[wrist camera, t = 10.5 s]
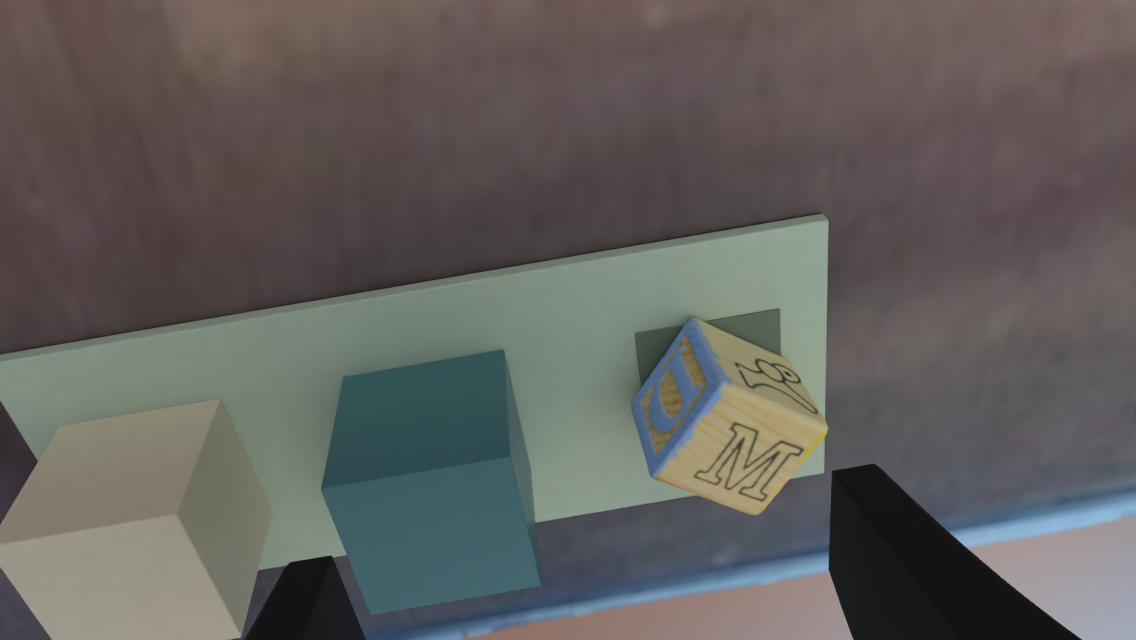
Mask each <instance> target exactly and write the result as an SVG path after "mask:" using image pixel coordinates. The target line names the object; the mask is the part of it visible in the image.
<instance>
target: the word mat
mask: <svg viewBox="0 0 1136 640" xmlns="http://www.w3.org/2000/svg"><path fill="white" fill-rule="evenodd" d="M827 274H828V219H827V218H826V217H825V215H824V214H817V215H811V216H805V217H800V218H794V219H788V220H782V221H776V222H770V223H765V224H759V225H753V226H747V227H741V228H735V229H730V230H724V231H718V232H712V233H706V234H700V235H695V236H689V237H683V238H677V239H671V240H665V241H660V242H654V243H648V244H642V245H636V246H630V247H625V248H619V249H613V250H607V251H601V252H595V253H590V254H584V255H578V256H572V257H566V258H560V259H555V260H549V261H543V262H537V263H531V264H525V265H520V266H514V267H508V268H502V269H496V270H490V271H485V272H479V273H473V274H467V275H461V276H455V277H450V278H444V279H438V280H432V281H426V282H420V283H415V284H409V285H403V286H397V287H391V288H385V289H380V290H374V291H368V292H362V293H356V294H350V295H345V296H339V297H333V298H327V299H321V300H315V301H310V302H304V303H298V304H292V305H286V306H280V307H275V308H269V309H263V310H257V311H251V312H245V313H240V314H234V315H228V316H222V317H216V318H210V319H205V320H199V321H193V322H187V323H181V324H175V325H170V326H164V327H158V328H152V329H146V330H140V331H135V332H129V333H123V334H117V335H111V336H105V337H100V338H94V339H88V340H82V341H76V342H70V343H65V344H59V345H53V346H47V347H41V348H35V349H30V350H24V351H18V352H12V353H6V354H0V401H1V403H2V404H3V406H4V407H5V409H6V411H7V412H8V414H9V415H10V417H11V419H12V420H13V422H14V423H15V425H16V427H17V428H18V430H19V432H20V433H21V435H22V436H23V438H24V440H25V441H26V443H27V444H28V446H29V448H30V449H31V451H32V452H33V454H34V456H35V457H36V459H37V461H39V459H40V458H41V456H42V455H43V453H44V451H45V450H46V448H47V446H48V445H49V443H50V441H51V440H52V438H53V436H54V435H55V433H56V431H57V430H58V428H59V427H60V426H62V425H68V424H74V423H80V422H85V421H91V420H97V419H103V418H109V417H115V416H120V415H126V414H132V413H138V412H144V411H150V410H155V409H161V408H167V407H173V406H179V405H185V404H190V403H196V402H202V401H208V400H214V399H221V401H222V403H223V405H224V408H225V410H226V412H227V414H228V416H229V419H230V421H231V423H232V425H233V428H234V430H235V432H236V434H237V436H238V439H239V441H240V443H241V445H242V448H243V450H244V452H245V454H246V456H247V459H248V461H249V463H250V465H251V468H252V470H253V472H254V474H255V476H256V479H257V481H258V483H259V485H260V488H261V490H262V492H263V494H264V496H265V499H266V501H267V503H268V505H269V508H270V510H271V512H272V518H271V522H270V526H269V530H268V534H267V538H266V541H265V545H264V549H263V553H262V557H261V561H260V565H259V569H258V570H263V569H269V568H274V567H280V566H286V565H288V563H289V562H294V561H300V560H306V559H312V558H318V557H324V556H330V555H332V557H339V556H344V555H346V552H345V550H344V547H343V545H342V542H341V540H340V537H339V535H338V532H337V530H336V527H335V525H334V522H333V520H332V517H331V515H330V512H329V510H328V507H327V505H326V502H325V500H324V497H323V495H322V492H321V486H322V481H323V476H324V471H325V466H326V461H327V455H328V450H329V445H330V440H331V435H332V430H333V425H334V420H335V415H336V410H337V405H338V400H339V395H340V390H341V385H342V380H343V377H346V376H351V375H357V374H363V373H369V372H375V371H380V370H386V369H392V368H398V367H404V366H410V365H415V364H421V363H427V362H433V361H439V360H445V359H450V358H456V357H462V356H468V355H474V354H480V353H485V352H491V351H497V350H504V351H505V355H506V359H507V364H508V368H509V373H510V377H511V382H512V386H513V391H514V395H515V400H516V404H517V409H518V413H519V418H520V422H521V427H522V431H523V436H524V440H525V445H526V449H527V454H528V458H529V463H530V467H531V476H532V487H533V499H534V511H535V522H536V523H537V522H542V521H548V520H554V519H560V518H566V517H571V516H577V515H583V514H589V513H595V512H601V511H606V510H612V509H618V508H624V507H630V506H636V505H641V504H647V503H653V502H659V501H665V500H670V499H676V498H682V497H688V496H694V495H696V494H693V493H691V492H688V491H686V490H683V489H680V488H678V487H675V486H672V485H669V484H667V483H664V482H661V481H658V480H655V479H653V478H651V477H650V474H649V471H648V467H647V462H646V459H645V456H644V452H643V448H642V444H641V441H640V438H639V434H638V431H637V428H636V424H635V421H634V417H633V414H632V410H631V403H632V400H633V399H634V397H635V396H636V395H637V393H638V391H639V390H640V389H641V387H642V386H643V384H644V383H645V382H646V380H647V379H648V378H649V376H650V374H651V373H652V371H653V370H654V369H655V367H656V366H657V364H658V363H659V361H660V360H661V359H662V357H663V356H664V355H665V354H666V352H667V350H668V349H669V347H670V346H671V344H672V343H673V341H674V340H675V338H676V337H677V335H678V334H679V333H680V331H681V330H682V328H683V326H684V325H685V324H686V323H687V322H688V320H690V319H691V318H697V319H699V320H701V321H703V322H705V323H707V324H709V325H712V326H714V327H716V328H718V329H720V330H723V331H725V332H727V333H729V334H732V335H734V336H736V337H738V338H740V339H743V340H745V341H747V342H749V343H752V344H754V345H756V346H759V347H761V348H763V349H765V350H767V351H770V352H772V353H774V354H776V355H779V356H781V357H783V358H785V359H788V360H790V361H791V363H792V365H793V367H794V368H795V370H796V372H797V374H798V376H799V377H800V379H801V381H802V383H803V384H804V386H805V388H806V389H807V391H808V393H809V395H810V397H811V398H812V400H813V401H814V403H815V405H816V406H817V408H818V410H819V411H820V413H821V414H822V416H823V418H824V420H825V388H826V331H827ZM824 444H825V437H824V438H823V439H822V441H821V442H820V443H819V444H818V445H817V446H816V447H815V449H814V450H813V451H812V453H811V454H810V455H809V456H808V457H807V458H806V460H805V461H804V462H803V463H802V465H801V466H799V467H798V469H797V470H796V471H795V472H794V474H793V475H792V476H791V477H790V478H789V479H793V478H799V477H804V476H810V475H816V474H822V473H824Z"/></svg>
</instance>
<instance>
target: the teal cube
mask: <svg viewBox="0 0 1136 640" xmlns="http://www.w3.org/2000/svg"><path fill="white" fill-rule="evenodd" d="M321 492H322V495H323V497H324V500H325V502H326V505H327V507H328V510H329V512H330V515H331V517H332V520H333V522H334V525H335V527H336V530H337V532H338V535H339V537H340V540H341V542H342V545H343V547H344V550H345V552H346V555H347V557H348V560H349V562H350V565H351V567H352V570H353V572H354V575H355V577H356V580H357V582H358V585H359V587H360V590H361V592H362V595H363V597H364V600H365V602H366V605H367V607H368V610H369V612H370V614H371V615H373V614H379V613H385V612H391V611H396V610H402V609H408V608H414V607H420V606H426V605H431V604H437V603H443V602H449V601H455V600H460V599H466V598H472V597H478V596H484V595H490V594H495V593H501V592H507V591H513V590H519V589H524V588H530V587H536V586H540V584H541V580H540V569H539V557H538V546H537V534H536V522H535V511H534V499H533V487H532V476H531V467H530V463H529V458H528V454H527V449H526V445H525V440H524V436H523V431H522V427H521V422H520V418H519V413H518V409H517V404H516V400H515V395H514V391H513V386H512V382H511V377H510V373H509V368H508V364H507V359H506V355H505V351H504V350H497V351H491V352H485V353H480V354H474V355H468V356H462V357H456V358H450V359H445V360H439V361H433V362H427V363H421V364H415V365H410V366H404V367H398V368H392V369H386V370H380V371H375V372H369V373H363V374H357V375H351V376H346V377H343V380H342V385H341V390H340V395H339V400H338V405H337V410H336V415H335V420H334V425H333V430H332V435H331V440H330V445H329V450H328V455H327V461H326V466H325V471H324V476H323V481H322V486H321Z"/></svg>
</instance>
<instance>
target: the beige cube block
mask: <svg viewBox="0 0 1136 640" xmlns="http://www.w3.org/2000/svg"><path fill="white" fill-rule="evenodd" d="M271 518H272V512H271V510H270V508H269V505H268V503H267V501H266V499H265V496H264V494H263V492H262V490H261V488H260V485H259V483H258V481H257V479H256V476H255V474H254V472H253V470H252V468H251V465H250V463H249V461H248V459H247V456H246V454H245V452H244V450H243V448H242V445H241V443H240V441H239V439H238V436H237V434H236V432H235V430H234V428H233V425H232V423H231V421H230V419H229V416H228V414H227V412H226V410H225V408H224V405H223V403H222V401H221V399H214V400H208V401H202V402H196V403H190V404H185V405H179V406H173V407H167V408H161V409H155V410H150V411H144V412H138V413H132V414H126V415H120V416H115V417H109V418H103V419H97V420H91V421H85V422H80V423H74V424H68V425H62V426H60V427H59V428H58V430H57V431H56V433H55V435H54V436H53V438H52V440H51V441H50V443H49V445H48V446H47V448H46V450H45V451H44V453H43V455H42V456H41V458H40V459H39V461H38V463H37V464H36V466H35V468H34V469H33V471H32V473H31V474H30V476H29V478H28V479H27V481H26V483H25V484H24V486H23V488H22V489H21V491H20V493H19V494H18V496H17V498H16V499H15V501H14V503H13V504H12V506H11V508H10V509H9V511H8V513H7V514H6V516H5V518H4V519H3V521H2V523H1V524H0V567H1V569H2V570H3V572H4V573H5V574H6V576H7V577H8V579H9V580H10V581H11V583H12V584H13V586H14V587H15V588H16V590H17V591H18V593H19V594H20V595H21V597H22V598H23V600H24V601H25V603H26V604H27V605H28V607H29V608H30V610H31V611H32V612H33V614H34V615H35V617H36V618H37V619H38V621H39V622H40V624H41V625H42V626H43V628H44V629H45V631H46V632H47V633H48V635H49V636H50V638H51V639H52V640H229V639H235V638H240V637H241V636H242V632H243V628H244V624H245V620H246V616H247V612H248V608H249V604H250V600H251V596H252V592H253V589H254V585H255V581H256V577H257V573H258V569H259V565H260V561H261V557H262V553H263V549H264V545H265V541H266V538H267V534H268V530H269V526H270V522H271Z"/></svg>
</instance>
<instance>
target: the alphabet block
mask: <svg viewBox="0 0 1136 640" xmlns="http://www.w3.org/2000/svg"><path fill="white" fill-rule="evenodd" d="M631 410H632V414H633V417H634V421H635V424H636V428H637V431H638V434H639V438H640V441H641V444H642V448H643V452H644V456H645V459H646V462H647V467H648V471H649V474H650V477H651V478H653V479H655V480H658V481H661V482H664V483H667V484H669V485H672V486H675V487H678V488H680V489H683V490H686V491H688V492H691V493H693V494H696V495H699V496H701V497H704V498H707V499H710V500H712V501H715V502H717V503H720V504H723V505H725V506H728V507H731V508H734V509H737V510H738V511H741V512H744V513H747V514H750V515H758V514H760V513H761V512H762V511H763V510H764V509H765V508H766V507H767V506H768V504H769V503H770V502H771V501H772V499H773V498H774V497H775V496H776V495H777V494H778V493H779V491H780V490H781V489H782V487H783V486H784V485H785V484H786V483H787V481H788V480H789V478H790V477H791V476H792V475H793V474H794V472H795V471H796V470H797V469H798V467H799V466H801V465H802V463H803V462H804V461H805V460H806V458H807V457H808V456H809V455H810V454H811V453H812V451H813V450H814V449H815V447H816V446H817V445H818V444H819V443H820V442H821V441H822V439H823V438H824V437H825V436H826V434H827V431H828V426H827V424H826V422H825V420H824V418H823V416H822V414H821V413H820V411H819V410H818V408H817V406H816V405H815V403H814V401H813V400H812V398H811V397H810V395H809V393H808V391H807V389H806V388H805V386H804V384H803V383H802V381H801V379H800V377H799V376H798V374H797V372H796V370H795V368H794V367H793V365H792V363H791V361H790V360H788V359H785V358H783V357H781V356H779V355H776V354H774V353H772V352H770V351H767V350H765V349H763V348H761V347H759V346H756V345H754V344H752V343H749V342H747V341H745V340H743V339H740V338H738V337H736V336H734V335H732V334H729V333H727V332H725V331H723V330H720V329H718V328H716V327H714V326H712V325H709V324H707V323H705V322H703V321H701V320H699V319H697V318H691V319H690V320H688V322H687V323H686V324H685V325H684V326H683V328H682V330H681V331H680V333H679V334H678V335H677V337H676V338H675V340H674V341H673V343H672V344H671V346H670V347H669V349H668V350H667V352H666V354H665V355H664V356H663V357H662V359H661V360H660V361H659V363H658V364H657V366H656V367H655V369H654V370H653V371H652V373H651V374H650V376H649V378H648V379H647V380H646V382H645V383H644V384H643V386H642V387H641V389H640V390H639V391H638V393H637V395H636V396H635V397H634V399H633V400H632V403H631Z"/></svg>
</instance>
